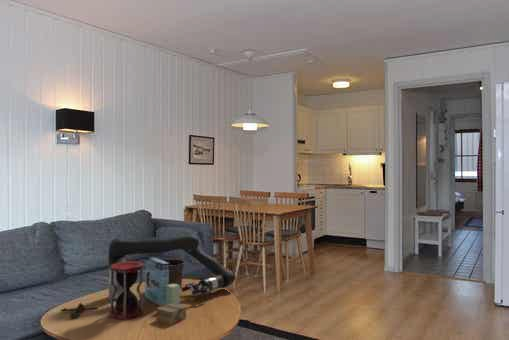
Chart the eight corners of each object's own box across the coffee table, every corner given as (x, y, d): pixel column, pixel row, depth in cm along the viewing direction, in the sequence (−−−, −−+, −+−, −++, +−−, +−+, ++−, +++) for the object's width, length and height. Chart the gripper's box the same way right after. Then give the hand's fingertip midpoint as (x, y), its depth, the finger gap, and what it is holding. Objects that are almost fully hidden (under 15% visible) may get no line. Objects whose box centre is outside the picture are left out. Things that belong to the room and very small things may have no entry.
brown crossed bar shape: (54, 314, 201) (63, 301, 215) (54, 322, 202) (63, 309, 216) (93, 312, 204) (99, 300, 218) (93, 320, 204) (99, 308, 219)
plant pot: (171, 293, 244) (171, 266, 244) (152, 289, 253) (152, 262, 252) (190, 287, 257) (190, 261, 257) (171, 283, 266) (171, 258, 266)
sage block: (172, 310, 216) (172, 287, 216) (166, 308, 219) (166, 285, 219) (179, 307, 220) (179, 285, 220) (173, 305, 223) (173, 283, 223)
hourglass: (107, 320, 201) (107, 269, 201) (113, 309, 217) (113, 261, 216) (141, 318, 203) (141, 268, 203) (144, 307, 219) (145, 260, 219)
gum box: (144, 297, 236) (145, 257, 236) (153, 296, 239) (153, 256, 239) (160, 306, 221) (160, 264, 221) (169, 304, 224) (169, 262, 224)
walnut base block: (171, 325, 196) (171, 312, 196) (156, 320, 202) (156, 308, 202) (185, 318, 205) (186, 306, 205) (171, 314, 210) (171, 302, 210)
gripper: (199, 276, 244) (178, 282, 232) (217, 280, 235) (196, 286, 223) (199, 288, 244) (178, 295, 232) (217, 293, 235) (196, 300, 223)
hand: (187, 291), depth 227 cm, fingers open, 8 cm apart
